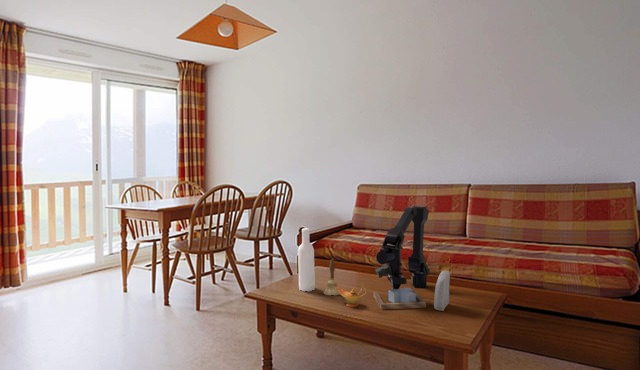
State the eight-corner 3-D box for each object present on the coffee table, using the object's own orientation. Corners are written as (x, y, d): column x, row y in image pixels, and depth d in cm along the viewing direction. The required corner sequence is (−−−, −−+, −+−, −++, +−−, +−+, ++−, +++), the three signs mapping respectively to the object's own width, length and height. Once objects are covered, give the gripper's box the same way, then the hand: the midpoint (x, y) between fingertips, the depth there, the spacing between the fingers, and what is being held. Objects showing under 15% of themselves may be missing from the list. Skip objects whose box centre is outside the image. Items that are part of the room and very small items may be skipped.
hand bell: (343, 291, 184) (342, 258, 183) (337, 296, 176) (336, 262, 176) (327, 289, 187) (327, 257, 187) (320, 294, 180) (320, 260, 179)
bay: (414, 294, 176) (414, 290, 176) (426, 307, 160) (426, 302, 160) (373, 296, 175) (373, 292, 175) (381, 309, 159) (381, 304, 159)
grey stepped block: (406, 296, 174) (406, 287, 174) (421, 303, 165) (421, 293, 165) (388, 300, 170) (388, 290, 170) (402, 307, 161) (402, 296, 161)
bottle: (314, 286, 192) (313, 227, 191) (315, 291, 185) (313, 229, 184) (299, 287, 192) (297, 227, 191) (298, 291, 184) (297, 230, 183)
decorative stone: (446, 312, 154) (445, 275, 153) (431, 310, 157) (430, 274, 156) (451, 304, 163) (450, 269, 163) (436, 302, 166) (436, 267, 166)
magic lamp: (337, 297, 175) (336, 273, 174) (370, 305, 163) (370, 280, 163) (327, 301, 169) (327, 277, 169) (361, 310, 158) (361, 284, 158)
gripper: (373, 256, 182) (373, 288, 183) (381, 265, 164) (381, 301, 164) (396, 255, 183) (396, 287, 183) (406, 265, 164) (407, 300, 165)
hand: (394, 294), depth 174 cm, fingers closed
